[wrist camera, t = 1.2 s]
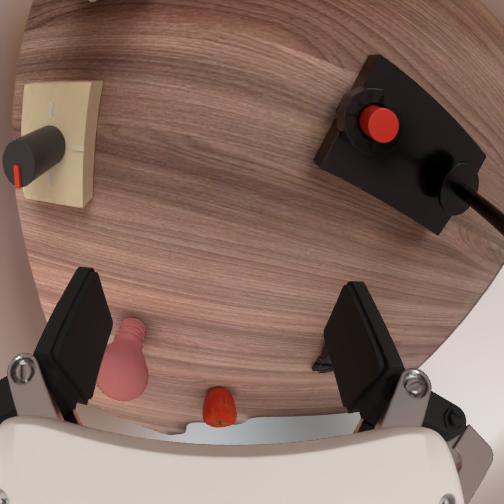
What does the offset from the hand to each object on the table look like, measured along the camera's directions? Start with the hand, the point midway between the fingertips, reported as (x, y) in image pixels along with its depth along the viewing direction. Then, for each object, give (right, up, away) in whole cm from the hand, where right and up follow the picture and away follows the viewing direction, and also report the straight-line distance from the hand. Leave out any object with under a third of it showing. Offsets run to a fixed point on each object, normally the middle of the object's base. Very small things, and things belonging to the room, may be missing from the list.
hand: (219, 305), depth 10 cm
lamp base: (+18, +12, +14) cm, 26 cm away
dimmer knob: (-17, +12, +9) cm, 23 cm away
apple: (-5, -24, +38) cm, 46 cm away
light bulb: (-15, -8, +26) cm, 31 cm away
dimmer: (-17, +13, +11) cm, 24 cm away
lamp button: (+11, +12, +9) cm, 19 cm away
